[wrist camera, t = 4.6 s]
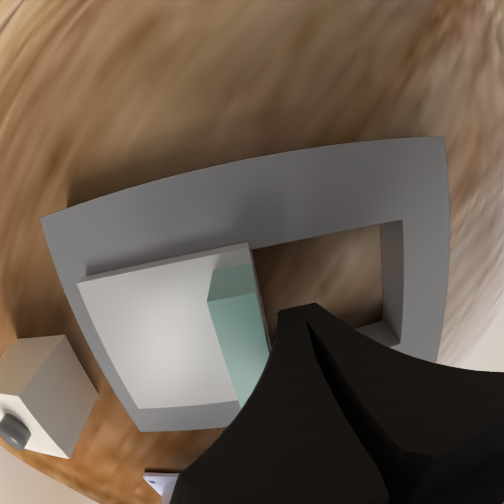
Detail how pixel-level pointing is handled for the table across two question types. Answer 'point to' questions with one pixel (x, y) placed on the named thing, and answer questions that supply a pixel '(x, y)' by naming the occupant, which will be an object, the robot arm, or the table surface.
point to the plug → (44, 396)
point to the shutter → (182, 327)
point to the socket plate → (273, 237)
